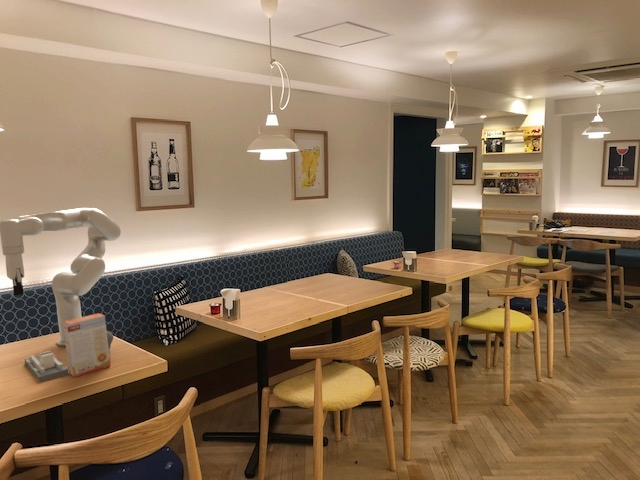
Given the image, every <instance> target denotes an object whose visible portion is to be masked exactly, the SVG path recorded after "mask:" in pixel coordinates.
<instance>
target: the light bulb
mask: <svg viewBox="0 0 640 480" xmlns="http://www.w3.org/2000/svg"><path fill="white" fill-rule="evenodd" d="M107 339H108V348H109V354H111V345H112V342H113V340H114V335H113V333H112V332H110V331H109V330H107Z"/></svg>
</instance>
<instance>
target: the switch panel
mask: <svg viewBox="0 0 640 480" xmlns="http://www.w3.org/2000/svg"><path fill="white" fill-rule="evenodd" d="M48 351H49V350H46V351H45V352H48ZM54 363H55V367H51V368H47V369H45V368H44V367H43V366H42V365H41V358H40V355H37V356H35V355H34V354H29V357H28V358H25V359H24V365H25V366H26V367H27V368H28V370H29V371H30V372H31V373H32V375H33V376H34V377H35V378H36V379H37V381H38V383H39V382H43V381H48V380H52V379H55V378H59V377H60V378H61V377H63V376H67V375H69V368H67V366H66V365H64V364H63V363H62V361H61V360H60V359H58V357H57V356H56V355H54Z"/></svg>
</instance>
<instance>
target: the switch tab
mask: <svg viewBox="0 0 640 480" xmlns="http://www.w3.org/2000/svg"><path fill="white" fill-rule="evenodd" d="M47 351H48V352H46V351H44V352H40V353H39V356H40V358H41V365H42V366H43V367H44V368H45V369H47V368H51V367H55V363H54V356H55V354H54V353H53V350H47Z"/></svg>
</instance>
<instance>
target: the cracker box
mask: <svg viewBox="0 0 640 480" xmlns="http://www.w3.org/2000/svg"><path fill="white" fill-rule="evenodd" d="M63 328H64V336H65V344H66V346H65V350H66V358H67V365H68V368H67V369H68V374H70V376H72V377H73V378H76V377H79V376H82V375H86V374H89V373H93V372H96V371H100V370H102V369H106V368H109V367H111V361H110V360H111V358H110V357H111V356H110V353H109V348H108V339H107V331H108V330H107V324H106V316H105V315H104V314H103V313H94V314H89V315H86V316H82V317H81V318H76V319H72V320H67V321H63Z"/></svg>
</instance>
